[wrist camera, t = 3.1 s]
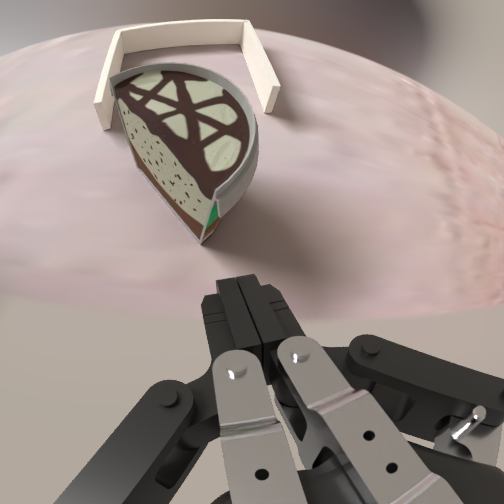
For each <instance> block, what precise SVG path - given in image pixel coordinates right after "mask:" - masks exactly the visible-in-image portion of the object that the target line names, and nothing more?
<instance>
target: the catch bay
mask: <svg viewBox="0 0 504 504" xmlns="http://www.w3.org/2000/svg"><path fill="white" fill-rule="evenodd" d="M206 44H240V47H241V49H242V52H243V55H244V57H245V60H246V63H247V65H248V68H249V71H250V74H251V76H252V79H253V82H254V85H255V88H256V91H257V93H258V96H259V99H260V102H261V105H262V108H263V111H264V113H271V112H272V110H273V107H274V104H275V101H276V98H277V95H278V93H279V90H280V87H281V86H280V83H279V81H278V79H277V77H276V74H275V72H274V70H273V68H272V66H271V63H270V61H269V59H268V57H267V55H266V53H265V51H264V49H263V47H262V45H261V43H260V41H259V39H258V37H257V35H256V33H255V31H254V29H253V27H252V25H251V23H250V21H249V20H231V19H226V20H225V19H208V20H187V21H173V22H164V23H155V24H148V25H142V26H135V27H130V28H125V29H120V30H116V31H115V34H114V37H113V39H112V42H111V45H110V48H109V51H108V54H107V57H106V60H105V63H104V66H103V70H102V73H101V77H100V80H99V84H98V88H97V92H96V96H95V100H94V106H95V109H96V112H97V115H98V118H99V120H100V123H101V126H102V129H103V130H107V129H110V128H111V120H112V113H113V106H114V100H115V99H114V96H111V92H110V86H109V83H110V81H109V77H111V76H113V75H115V74H117V73H120V69H121V65H122V60H123V56H124V54H127V53H132V52H138V51H144V50H151V49H158V48H166V47H176V46H188V45H206Z"/></svg>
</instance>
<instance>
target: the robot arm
mask: <svg viewBox="0 0 504 504" xmlns="http://www.w3.org/2000/svg"><path fill="white" fill-rule="evenodd" d="M216 288H217V294H212V295H206V296H205V297H204V299H203V301H202V304H201V308H202V314H203V319H204V324H205V329H206V335H207V340H208V344H209V349H210V354H211V358H212V361H211V365H210V367H209V369H208V371H207V372H206V373H205V374H204V375H203V376H201V377H200V378H198V379H196V380H194V381H192V382H190V383H188V384H184V383H182V382H180V381H176V380H164V381H160V382H158V383H156V384H154V385H153V386H151V387H150V388H149V389H148V391H147V392H146V393H145V394H144V396H143V397H142V398H141V399H140V401H139V402H138V403H137V404H136V405H135V407H134V408H133V409H132V410H131V411H130V412H129V414H128V415H127V416H126V417H125V419H124V420H123V421H122V422H121V423H120V425H119V426H118V427H117V428H116V429H115V431H114V432H113V433H112V434H111V435H110V437H109V438H108V439H107V440H106V442H105V443H104V444H103V445H102V446H101V448H100V449H99V450H98V451H97V452H96V454H95V455H94V456H93V457H92V458H91V460H90V461H89V462H88V463H87V464H86V466H85V467H84V468H83V469H82V470H81V472H80V473H79V474H78V475H77V476H76V477H75V479H74V480H73V481H72V482H71V483H70V485H69V486H68V487H67V488H66V489H65V491H64V492H63V493H62V494H61V495H60V496H59V498H58V499H57V500H56V501H55V502H54V504H169V502H170V501H171V500H172V498H173V497H174V495H175V494H176V492H177V491H178V489H179V488H180V486H181V485H182V483H183V482H184V480H185V479H186V477H187V476H188V474H189V473H190V471H191V470H192V468H193V467H194V465H195V464H196V462H197V460H198V459H199V457H200V456H201V454H202V452H203V451H204V449H205V448H206V446H207V444H208V442H210V441H212V440H214V439H216V438H218V437H220V439H221V445H222V451H223V457H224V463H225V469H226V474H227V479H228V485H229V491H227V492H226V493H224V494H222V495H221V496H220V497H218V498H217V499H215V500H214V501H213V502H212V503H211V504H504V472H503V471H502V470H501V469H499V468H497V467H496V462H497V457H498V451H499V445H500V438H501V431H502V424H503V422H504V379H502V378H498V377H495V376H492V375H488V374H485V373H482V372H479V371H476V370H473V369H470V368H466V367H463V366H460V365H457V364H454V363H451V362H448V361H445V360H442V359H439V358H436V357H433V356H431V355H428V354H425V353H422V352H419V351H416V350H413V349H410V348H407V347H405V346H402V345H399V344H397V343H394V342H391V341H388V340H385V339H383V338H380V337H377V336H374V335H368V334H367V335H360V336H357V337H355V338H354V339H353V340H352V341H351V343H350V345H349V347H323V346H321V345H320V344H319V343H318V342H317V341H315V340H314V339H311V338H309V337H306V335H305V334H304V332H303V330H302V329H301V327H300V325H299V323H298V322H297V320H296V318H295V317H294V315H293V313H292V312H291V310H290V309H289V306H288V305H287V303H286V301H285V300H284V298H283V296H282V294H281V293H280V291H279V290H277V289H276V288H275V287H273V286H272V285H270V284H268V285H263V286H261V285H260V283H259V281H258V279H257V277H256V276H255V274H251V275H245V276H239V277H236V278H235V277H234V278H228V279H222V280H216ZM267 385H272V387H273V390H274V392H275V398H274V399H275V403H276V406H277V408H278V410H279V411H280V414H281V416H282V417H283V419H284V421H285V423H286V425H287V427H288V429H289V431H290V433H291V435H292V436H293V438H294V440H295V442H296V444H297V447H298V451H299V456H300V459H301V461H302V464H303V465H304V467H305V469H306V470H300V471H297V470H296V467H295V464H294V460H293V457H292V454H291V451H290V448H289V444H288V441H287V438H286V435H285V432H284V429H283V426H282V424H281V422H280V421H278V420H277V418H276V416H275V412H274V409H273V405H272V402H271V399H270V395H269V392H268V388H267ZM400 432H402V433H405V434H408V435H412V436H415V437H418V438H421V439H424V440H427V441H431V442H434V443H435V445H434V448H433V449H430V448H427V447H424V446H421V445H418V444H416V443H412V442H410V441H406V439H405V438H404V437H403V435H402V434H401V433H400Z"/></svg>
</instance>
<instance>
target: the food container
mask: <svg viewBox="0 0 504 504" xmlns="http://www.w3.org/2000/svg"><path fill="white" fill-rule="evenodd" d="M109 81H110V83H109V86H110V92H111V96H114V99H115V102H116V105H117V109H118V112H119V115H120V118H121V122H122V125H123V128H124V131H125V134H126V137H127V140H128V143H129V146H130V149H131V152H132V154H133V157H134V160H135V163H136V166H137V168H138V169H139V171H140V172H141V173H142V174H143V176H144V177H145V178H146V179H147V181H148V182H149V183H150V184H151V186H152V187H153V188H154V189H155V191H156V192H157V193H158V194H159V196H160V197H161V198H162V199H163V200H164V202H165V203H166V204H167V205H168V207H169V208H170V209H171V210H172V211H173V213H174V214H175V215H176V216H177V217H178V219H179V220H180V221H181V222H182V223H183V225H184V226H185V227H186V228H187V229H188V231H189V232H190V233H191V234H192V235H193V237H194V238H195V239H196V240H197V241H198V242H199V244H200V245H201V244H202V243H204V242H205V241H206V240H207V239H208V238H209V237H210V236H211V235H212V233H213V232H214V230H215V228H216V227H217V225H218V223H219V222H220V220H221V218H222V216H223V215H225V214H226V213H227V212H228V211H229V210H230V209H231V208H232V207H233V206H234V205H235V204H236V203H237V202H238V200H239V199H240V198H241V197H242V196H243V194H244V193H245V191H246V190H247V188H248V186H249V184H250V183H251V181H252V178H253V176H254V173H255V170H256V167H257V161H258V154H259V145H258V125H257V122H256V118H255V115H254V113H253V110H252V107H251V105H250V103H249V101H248V99H247V97H246V96H245V95H244V93H243V92H242V91H241V90H240V89H239V88H238V87H237V86H236V85H235V84H234V83H233V82H232V81H230V80H229V79H227V78H226V77H224V76H222V75H221V74H219V73H217V72H214V71H212V70H210V69H207V68H204V67H201V66H197V65H192V64H186V63H174V62H168V63H154V64H147V65H142V66H138V67H134V68H131V69H128V70H125V71H122V72H120V73H117V74H115V75H113V76H111V77H109Z"/></svg>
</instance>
